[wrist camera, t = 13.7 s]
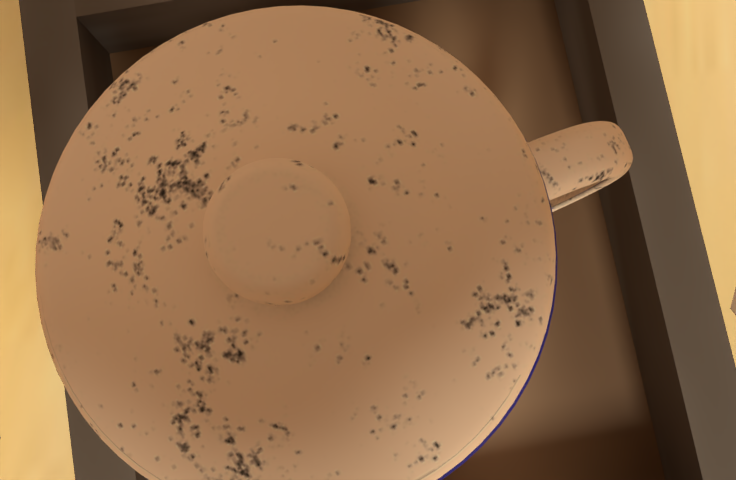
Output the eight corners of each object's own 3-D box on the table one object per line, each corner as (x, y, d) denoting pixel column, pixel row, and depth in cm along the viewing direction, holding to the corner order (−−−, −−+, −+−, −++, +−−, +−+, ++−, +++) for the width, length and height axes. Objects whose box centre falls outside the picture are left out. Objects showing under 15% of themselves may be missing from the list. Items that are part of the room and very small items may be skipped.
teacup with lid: (236, 493, 20) (49, 718, 8) (131, 202, 21) (-161, 40, 9) (620, 336, 20) (950, 340, 9) (498, 61, 21) (648, -256, 10)
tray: (575, -56, 23) (611, -125, 20) (716, 531, 21) (786, 570, 17) (69, 31, 23) (16, -25, 19) (147, 640, 20) (102, 703, 17)
